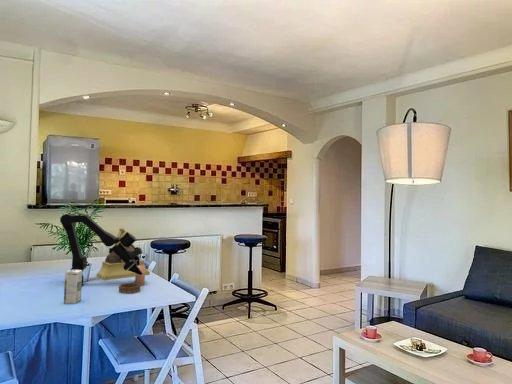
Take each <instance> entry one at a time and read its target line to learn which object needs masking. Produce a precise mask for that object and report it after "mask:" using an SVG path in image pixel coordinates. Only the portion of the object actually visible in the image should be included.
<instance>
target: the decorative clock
mask: <svg viewBox="0 0 512 384" xmlns="http://www.w3.org/2000/svg"><path fill="white" fill-rule="evenodd" d="M118 230H119V231H118V233H117V237H116V238H122V237H123V236H124V235H125V234H126V233H127V232H128V231H127V230H125V228H124V227H122V226H121V227H119V229H118ZM119 243H120V242H118V243H116V244H114V245H118V244H119ZM133 244H134V243H133ZM133 244H132V245H131V246H130V247H125V248H126V249H127V250H130V251H131V252H132V251H134V250H135V248H136V247H135V245H133ZM138 256H139V257H140V255H138ZM139 259H140V258H139ZM139 259H138V260H139ZM144 262H145V261H144V260H142V259H140V264H143V265H145V263H144ZM101 263H102V264H101V267H100V269H99V271H97V273H96V277H97V278H98V279H101V280H102V281H110V280H112V281H113V280H119V279H126V278H135V273H134V272H131V271H128V269H129V268H128V269H127V270H125V269H124V265H125V263H124V262H123V261H122V260H120V258H119V257H118V256H117V255H116V254H115V253H114V252H111V253H108V255H107V256H106V258H105V260H104V261H102V262H101ZM145 276H150V271H149V269H147V268H146V267H145Z"/></svg>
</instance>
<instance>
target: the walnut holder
mask: <svg viewBox="0 0 512 384" xmlns="http://www.w3.org/2000/svg"><path fill="white" fill-rule="evenodd" d="M139 292H141V286H140V284H138V283H135V282H127V283H121V284H119V285H118V293H119V294H125V295H128V294H138V293H139Z"/></svg>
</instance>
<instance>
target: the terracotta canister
mask: <svg viewBox="0 0 512 384" xmlns="http://www.w3.org/2000/svg"><path fill="white" fill-rule="evenodd" d="M137 267H138V268H139V269H140V271H141V272H142V275H139V274H137V273H135V277H134V283H138V284H140V287H142V286H145V284H146V283H145V280H146V279H145V276H146V275H145V268H146V265H145V264H144V265H143V264H139V265H137Z"/></svg>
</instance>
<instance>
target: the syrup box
mask: <svg viewBox="0 0 512 384" xmlns="http://www.w3.org/2000/svg"><path fill="white" fill-rule="evenodd" d="M82 274H83V272H82V270H70V269H69V270H67V271H65V272H64V291H63V304H67V305H68V304H69V305H70V304H71V305H72V304H78V302H79V303H80V301H81V300H82V286H83V285H82Z"/></svg>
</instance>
